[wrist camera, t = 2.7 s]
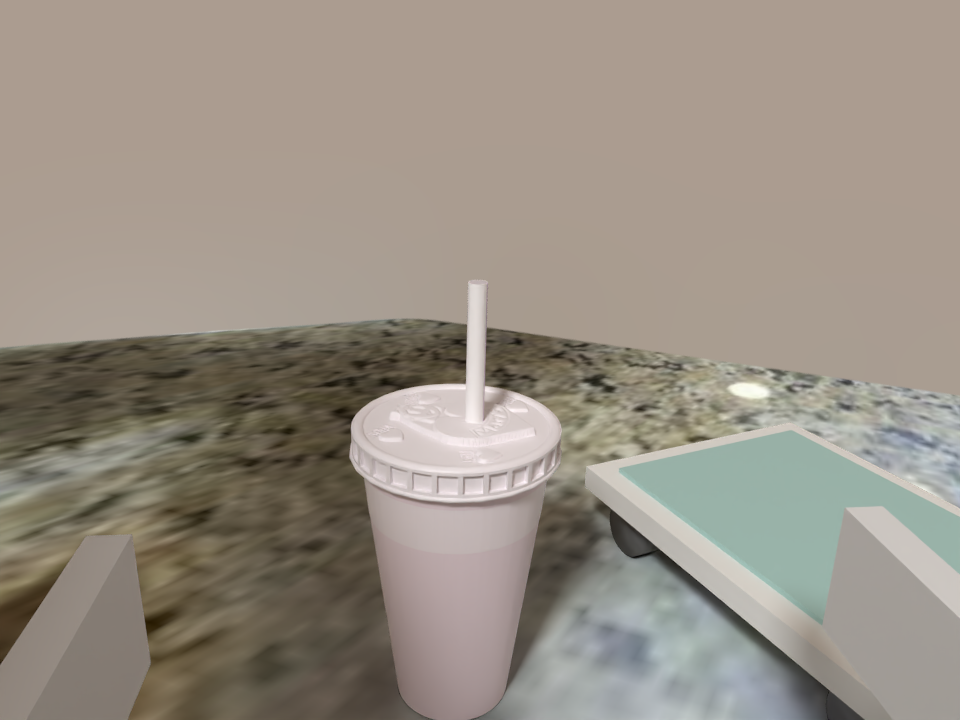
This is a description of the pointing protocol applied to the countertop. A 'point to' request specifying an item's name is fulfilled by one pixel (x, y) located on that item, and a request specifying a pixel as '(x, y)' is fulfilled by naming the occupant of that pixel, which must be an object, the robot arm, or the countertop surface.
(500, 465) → the smoothie
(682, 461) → the tray
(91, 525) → the countertop surface
